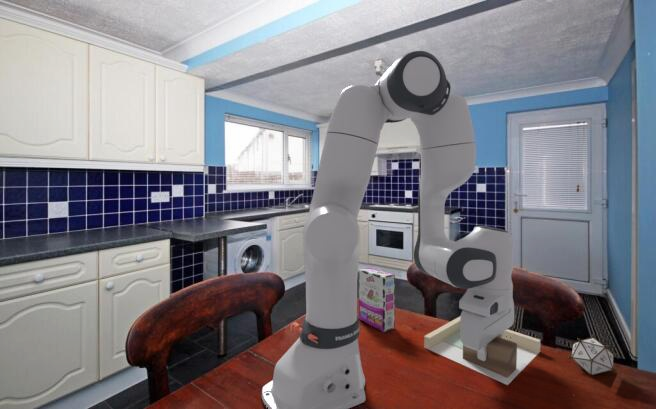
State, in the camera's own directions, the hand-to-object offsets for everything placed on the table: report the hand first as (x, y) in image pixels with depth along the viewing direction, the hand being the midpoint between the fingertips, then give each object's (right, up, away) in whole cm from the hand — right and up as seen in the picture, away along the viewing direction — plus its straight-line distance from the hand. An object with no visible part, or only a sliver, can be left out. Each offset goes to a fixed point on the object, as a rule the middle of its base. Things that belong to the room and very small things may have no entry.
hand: (489, 354), depth 73 cm
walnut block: (0, -2, 0) cm, 2 cm away
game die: (+22, -3, -2) cm, 22 cm away
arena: (+1, -3, +6) cm, 7 cm away
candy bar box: (-23, -2, +23) cm, 33 cm away
